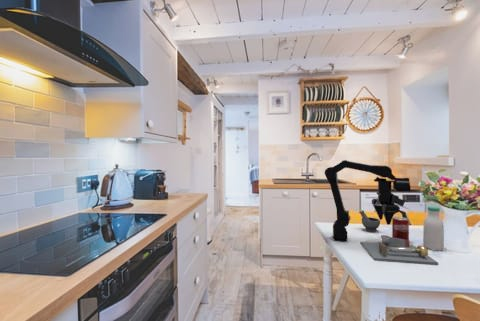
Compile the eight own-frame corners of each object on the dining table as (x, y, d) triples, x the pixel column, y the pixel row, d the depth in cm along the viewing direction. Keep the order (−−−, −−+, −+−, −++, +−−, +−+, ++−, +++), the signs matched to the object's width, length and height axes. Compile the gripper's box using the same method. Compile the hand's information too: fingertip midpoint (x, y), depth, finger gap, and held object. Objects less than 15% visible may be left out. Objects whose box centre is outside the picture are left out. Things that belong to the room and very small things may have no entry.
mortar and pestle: (378, 229, 145) (378, 209, 145) (382, 233, 136) (382, 213, 136) (357, 227, 149) (358, 208, 149) (360, 232, 140) (360, 211, 140)
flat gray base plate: (374, 260, 102) (374, 258, 102) (360, 243, 121) (360, 241, 121) (438, 264, 97) (438, 262, 97) (412, 246, 117) (412, 244, 117)
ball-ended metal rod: (380, 244, 117) (380, 236, 117) (381, 241, 120) (381, 234, 120) (409, 249, 110) (409, 241, 110) (409, 247, 113) (409, 239, 113)
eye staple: (383, 258, 103) (383, 246, 103) (378, 254, 108) (378, 242, 108) (386, 259, 103) (386, 246, 103) (381, 254, 108) (381, 242, 108)
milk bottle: (445, 252, 110) (445, 209, 109) (424, 249, 114) (424, 207, 113) (442, 246, 116) (442, 206, 116) (422, 243, 120) (422, 204, 120)
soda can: (411, 243, 121) (411, 220, 120) (395, 242, 122) (395, 219, 122) (404, 238, 128) (404, 216, 128) (389, 238, 129) (390, 216, 129)
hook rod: (388, 255, 103) (388, 245, 103) (384, 251, 107) (384, 242, 107) (427, 258, 100) (427, 248, 100) (422, 254, 105) (422, 244, 104)
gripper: (412, 194, 107) (412, 228, 107) (394, 188, 125) (394, 217, 126) (385, 193, 109) (385, 227, 109) (371, 188, 128) (371, 216, 128)
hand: (384, 221), depth 118 cm, fingers open, 9 cm apart
